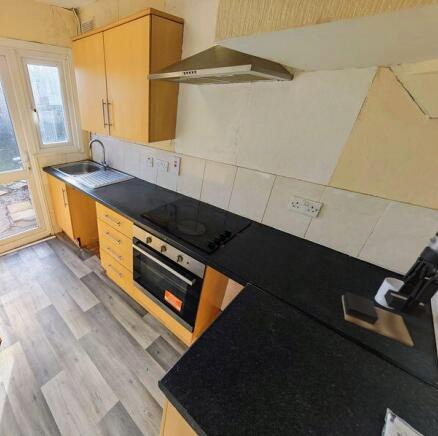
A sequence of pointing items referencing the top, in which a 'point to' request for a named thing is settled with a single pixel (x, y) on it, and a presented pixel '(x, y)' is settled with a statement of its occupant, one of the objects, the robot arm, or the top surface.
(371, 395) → the top surface
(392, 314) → the mount board
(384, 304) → the white cup
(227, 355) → the top surface
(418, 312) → the loose pad
